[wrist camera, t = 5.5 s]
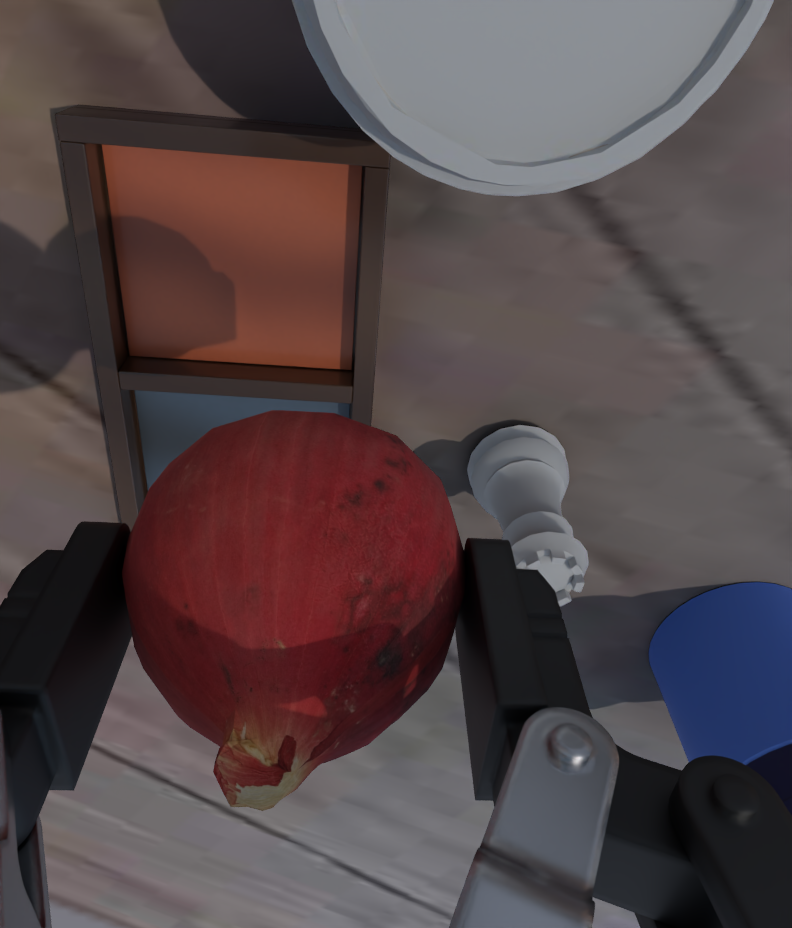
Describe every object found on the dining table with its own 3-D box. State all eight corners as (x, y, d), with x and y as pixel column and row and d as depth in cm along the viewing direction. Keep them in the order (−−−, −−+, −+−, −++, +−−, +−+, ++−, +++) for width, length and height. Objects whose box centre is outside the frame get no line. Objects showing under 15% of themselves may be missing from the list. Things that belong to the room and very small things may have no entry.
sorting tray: (77, 104, 24) (53, 113, 23) (390, 131, 25) (391, 142, 23) (140, 533, 35) (127, 562, 33) (361, 544, 35) (360, 573, 33)
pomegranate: (405, 302, 14) (432, 595, 7) (472, 524, 17) (534, 872, 10) (132, 380, 15) (-67, 710, 8) (244, 579, 18) (166, 934, 11)
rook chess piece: (576, 481, 33) (625, 605, 27) (486, 513, 34) (511, 641, 28) (547, 404, 31) (592, 518, 24) (451, 441, 32) (469, 561, 25)
